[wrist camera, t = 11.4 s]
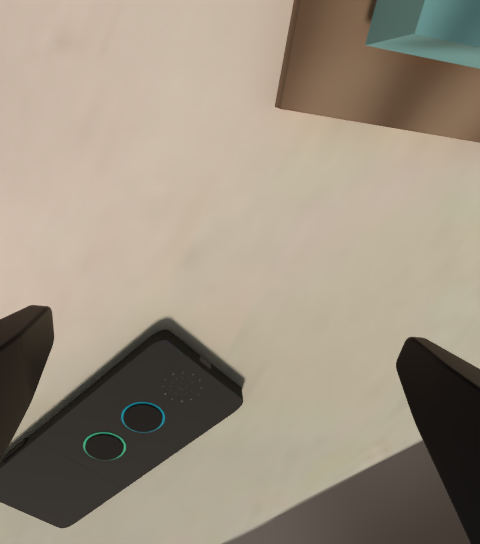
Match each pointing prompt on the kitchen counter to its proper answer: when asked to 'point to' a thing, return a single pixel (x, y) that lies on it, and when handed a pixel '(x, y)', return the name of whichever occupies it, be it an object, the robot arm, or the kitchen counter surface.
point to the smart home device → (117, 431)
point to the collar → (428, 29)
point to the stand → (371, 75)
